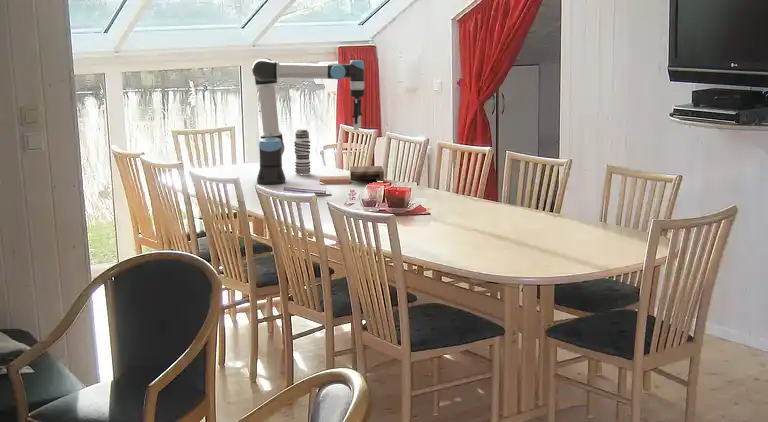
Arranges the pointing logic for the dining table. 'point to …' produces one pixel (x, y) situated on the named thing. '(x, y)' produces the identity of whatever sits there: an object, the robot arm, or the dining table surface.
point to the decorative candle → (302, 152)
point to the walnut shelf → (367, 173)
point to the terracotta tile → (335, 179)
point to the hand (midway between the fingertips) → (357, 128)
